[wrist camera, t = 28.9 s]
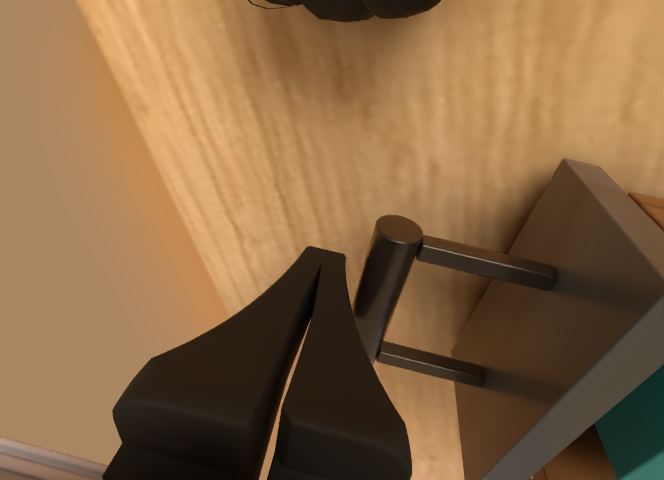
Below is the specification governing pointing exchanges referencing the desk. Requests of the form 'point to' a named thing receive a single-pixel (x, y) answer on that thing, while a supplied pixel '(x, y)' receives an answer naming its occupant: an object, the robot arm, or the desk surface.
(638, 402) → the teal rectangular block
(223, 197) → the desk surface
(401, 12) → the toy figure
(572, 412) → the drawer
